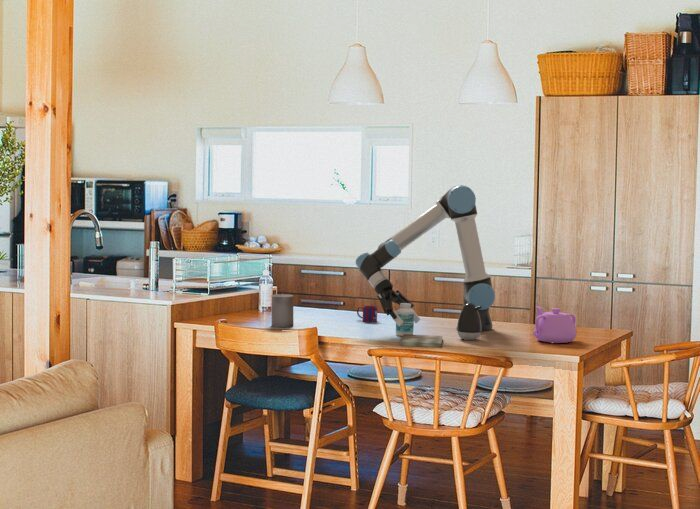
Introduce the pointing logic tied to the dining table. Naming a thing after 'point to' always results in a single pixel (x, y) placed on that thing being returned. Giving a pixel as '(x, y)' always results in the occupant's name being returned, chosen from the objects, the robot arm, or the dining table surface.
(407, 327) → the pill bottle
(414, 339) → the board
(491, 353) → the dining table surface
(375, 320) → the mug
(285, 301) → the pillar candle
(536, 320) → the teapot
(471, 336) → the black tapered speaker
